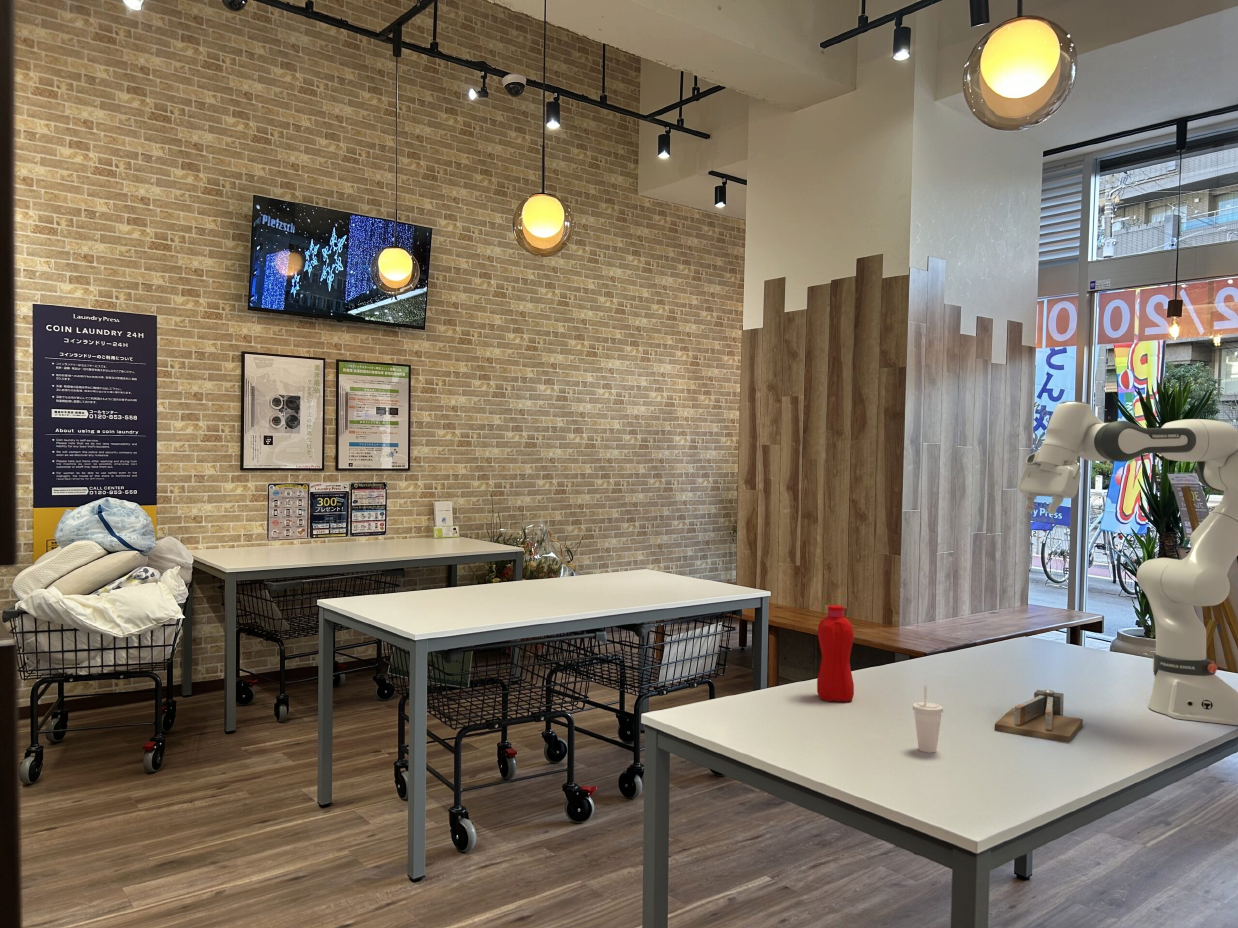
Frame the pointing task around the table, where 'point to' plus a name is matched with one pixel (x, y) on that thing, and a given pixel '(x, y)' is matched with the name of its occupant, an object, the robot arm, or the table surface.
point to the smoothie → (927, 723)
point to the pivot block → (1057, 700)
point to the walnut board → (1041, 727)
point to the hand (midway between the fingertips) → (1039, 512)
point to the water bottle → (835, 656)
